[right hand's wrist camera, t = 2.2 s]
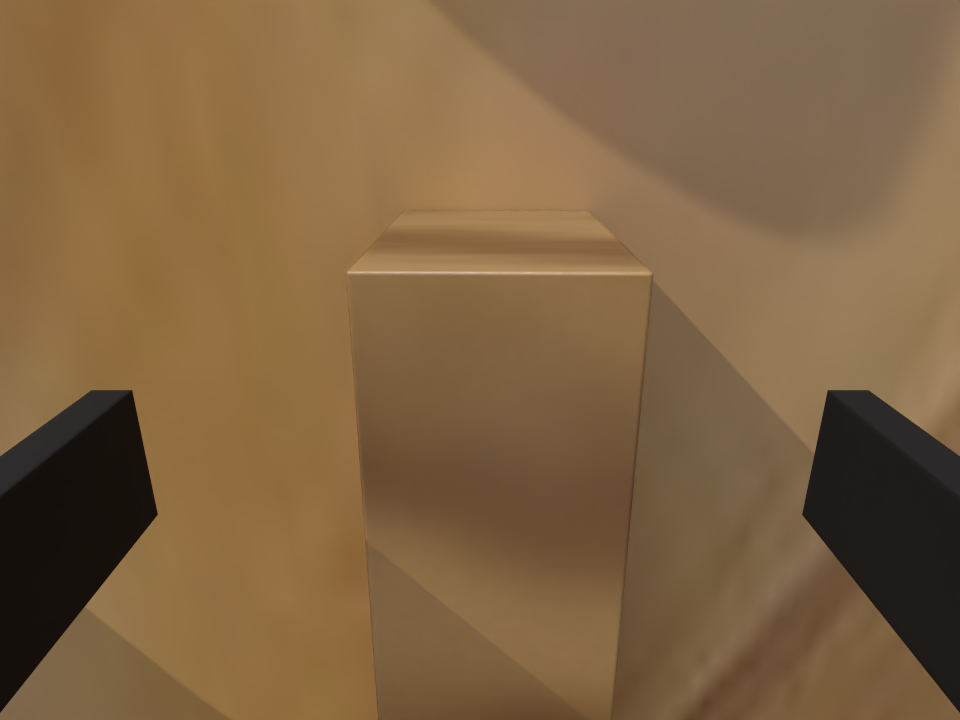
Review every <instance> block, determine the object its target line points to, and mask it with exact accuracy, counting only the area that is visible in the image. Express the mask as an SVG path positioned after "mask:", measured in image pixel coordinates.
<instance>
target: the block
mask: <svg viewBox="0 0 960 720" xmlns="http://www.w3.org/2000/svg"><path fill="white" fill-rule="evenodd" d="M346 277H347V291H348V305H349V319H350V333H351V347H352V361H353V374H354V388H355V402H356V416H357V430H358V444H359V458H360V472H361V486H362V500H363V514H364V527H365V541H366V555H367V569H368V583H369V597H370V611H371V625H372V639H373V653H374V667H375V680H376V694H377V708H378V720H612V712H613V701H614V690H615V679H616V669H617V658H618V647H619V637H620V626H621V615H622V604H623V594H624V583H625V572H626V562H627V551H628V540H629V529H630V519H631V508H632V497H633V486H634V476H635V465H636V454H637V444H638V433H639V422H640V411H641V401H642V390H643V379H644V369H645V358H646V347H647V336H648V326H649V315H650V304H651V294H652V283H653V274H652V272H651V271H650V270H649V269H648V268H647V267H646V266H645V265H644V264H643V263H642V262H641V261H640V260H639V259H638V258H637V257H636V256H635V255H634V254H633V253H631V252H630V251H629V250H628V249H627V248H626V247H625V246H624V245H623V244H622V243H621V242H620V241H619V240H618V239H617V238H616V237H615V236H614V235H613V234H612V233H611V232H610V231H609V230H608V229H607V228H606V227H605V226H604V225H603V224H602V223H601V222H600V221H599V220H598V219H596V218H595V217H594V216H593V215H592V214H591V213H590V212H589V211H403V212H402V213H401V214H400V216H399V217H398V218H397V219H396V220H395V221H394V222H393V223H392V224H391V225H390V226H389V227H388V228H387V230H386V231H385V232H384V233H383V234H382V235H381V236H380V237H379V238H378V239H377V240H376V241H375V242H374V243H373V245H372V246H371V247H370V248H369V249H368V250H367V251H366V252H365V253H364V254H363V255H362V256H361V257H360V258H359V260H358V261H357V262H356V263H355V264H354V265H353V266H352V267H351V268H350V269H349V270H348V271H347V274H346Z"/></svg>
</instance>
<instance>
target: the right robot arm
mask: <svg viewBox="0 0 960 720" xmlns="http://www.w3.org/2000/svg"><path fill="white" fill-rule="evenodd" d="M157 515H158V514H157V509H156V504H155V499H154V494H153V489H152V485H151V480H150V475H149V470H148V465H147V460H146V455H145V451H144V446H143V441H142V436H141V431H140V426H139V421H138V417H137V412H136V407H135V402H134V397H133V392H132V390H91V391H90V392H89V393H87V394H86V395H84V396H83V397H82V398H80V399H79V400H78V401H76V402H75V403H73V404H72V405H71V406H69V407H68V408H66V409H65V410H64V411H62V412H61V413H60V414H58V415H57V416H55V417H54V418H53V419H51V420H50V421H49V422H47V423H46V424H44V425H43V426H42V427H40V428H39V429H37V430H36V431H35V432H33V433H32V434H31V435H29V436H28V437H26V438H25V439H24V440H22V441H21V442H19V443H18V444H17V445H15V446H14V447H13V448H11V449H10V450H8V451H7V452H6V453H4V454H3V455H2V456H0V712H1V711H2V710H3V709H4V707H5V706H6V705H7V704H8V702H9V701H10V700H11V698H12V697H13V696H14V695H15V693H16V692H17V691H18V690H19V688H20V687H21V686H22V685H23V683H24V682H25V681H26V680H27V678H28V677H29V676H30V675H31V673H32V672H33V671H34V670H35V668H36V667H37V666H38V665H39V663H40V662H41V661H42V660H43V658H44V657H45V656H46V654H47V653H48V652H49V651H50V649H51V648H52V647H53V646H54V644H55V643H56V642H57V641H58V639H59V638H60V637H61V636H62V634H63V633H64V632H65V631H66V629H67V628H68V627H69V626H70V624H71V623H72V622H73V621H74V619H75V618H76V617H77V616H78V614H79V613H80V612H81V610H82V609H83V608H84V607H85V605H86V604H87V603H88V602H89V600H90V599H91V598H92V597H93V595H94V594H95V593H96V592H97V590H98V589H99V588H100V587H101V585H102V584H103V583H104V582H105V580H106V579H107V578H108V577H109V575H110V574H111V573H112V571H113V570H114V569H115V568H116V566H117V565H118V564H119V563H120V561H121V560H122V559H123V558H124V556H125V555H126V554H127V553H128V551H129V550H130V549H131V548H132V546H133V545H134V544H135V543H136V541H137V540H138V539H139V538H140V536H141V535H142V534H143V533H144V531H145V530H146V529H147V527H148V526H149V525H150V524H151V522H152V521H153V520H154V519H155V517H156V516H157ZM802 515H803V516H804V517H805V519H806V520H807V521H808V522H809V524H810V525H811V526H812V527H813V529H814V530H815V531H816V533H817V534H818V535H819V536H820V538H821V539H822V540H823V541H824V543H825V544H826V545H827V546H828V548H829V549H830V550H831V551H832V553H833V554H834V555H835V556H836V558H837V559H838V560H839V561H840V563H841V564H842V565H843V566H844V568H845V569H846V570H847V571H848V573H849V574H850V575H851V577H852V578H853V579H854V580H855V582H856V583H857V584H858V585H859V587H860V588H861V589H862V590H863V592H864V593H865V594H866V595H867V597H868V598H869V599H870V600H871V602H872V603H873V604H874V605H875V607H876V608H877V609H878V610H879V612H880V613H881V614H882V616H883V617H884V618H885V619H886V621H887V622H888V623H889V624H890V626H891V627H892V628H893V629H894V631H895V632H896V633H897V634H898V636H899V637H900V638H901V639H902V641H903V642H904V643H905V644H906V646H907V647H908V648H909V649H910V651H911V652H912V653H913V654H914V656H915V657H916V658H917V660H918V661H919V662H920V663H921V665H922V666H923V667H924V668H925V670H926V671H927V672H928V673H929V675H930V676H931V677H932V678H933V680H934V681H935V682H936V683H937V685H938V686H939V687H940V688H941V690H942V691H943V692H944V693H945V695H946V696H947V697H948V698H949V700H950V701H951V702H952V704H953V705H954V706H955V707H956V709H957V710H958V711H959V712H960V456H958V455H957V454H956V453H954V452H953V451H952V450H950V449H949V448H947V447H946V446H945V445H943V444H942V443H941V442H939V441H938V440H936V439H935V438H934V437H932V436H931V435H929V434H928V433H927V432H925V431H924V430H923V429H921V428H920V427H918V426H917V425H916V424H914V423H913V422H911V421H910V420H909V419H907V418H906V417H905V416H903V415H902V414H900V413H899V412H898V411H896V410H895V409H894V408H892V407H891V406H889V405H888V404H887V403H885V402H884V401H882V400H881V399H880V398H878V397H877V396H876V395H874V394H873V393H871V392H870V391H869V390H828V392H827V397H826V402H825V407H824V412H823V417H822V421H821V426H820V431H819V436H818V441H817V446H816V451H815V455H814V460H813V465H812V470H811V475H810V480H809V485H808V489H807V494H806V499H805V504H804V509H803V514H802Z"/></svg>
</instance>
